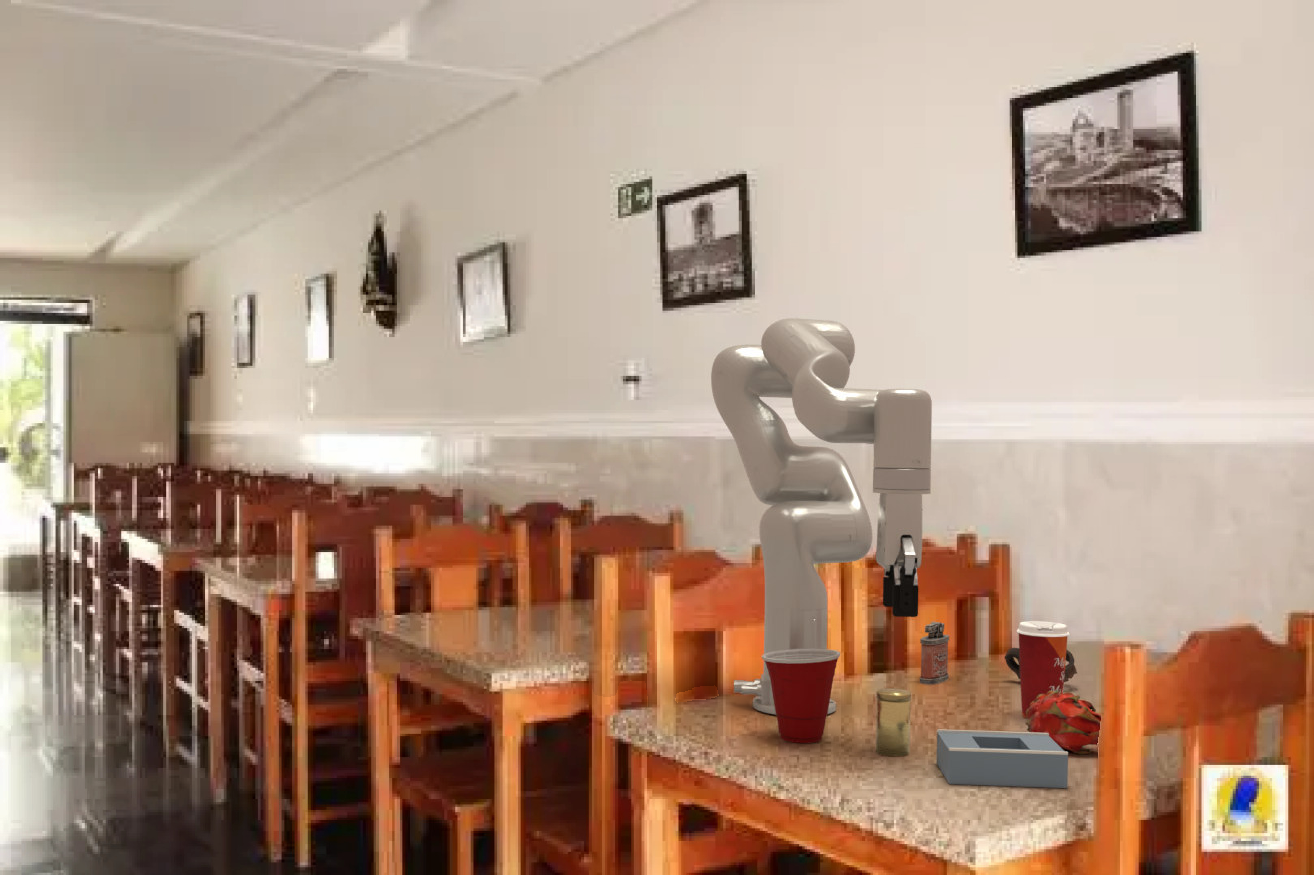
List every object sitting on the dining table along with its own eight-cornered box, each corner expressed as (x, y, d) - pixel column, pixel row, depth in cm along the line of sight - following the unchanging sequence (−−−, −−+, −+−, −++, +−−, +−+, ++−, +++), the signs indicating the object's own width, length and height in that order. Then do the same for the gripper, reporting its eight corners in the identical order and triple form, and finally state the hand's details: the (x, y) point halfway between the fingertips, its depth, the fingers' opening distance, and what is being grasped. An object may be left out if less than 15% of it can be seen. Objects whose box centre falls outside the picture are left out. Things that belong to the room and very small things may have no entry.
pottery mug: (1075, 685, 221) (1085, 648, 217) (1062, 718, 214) (1072, 681, 209) (1006, 661, 226) (1014, 625, 221) (991, 693, 218) (999, 656, 214)
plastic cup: (775, 726, 183) (777, 642, 183) (848, 734, 179) (850, 648, 179) (748, 742, 174) (750, 653, 174) (825, 751, 169) (826, 660, 169)
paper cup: (1071, 724, 188) (1072, 628, 188) (1016, 720, 190) (1018, 626, 190) (1065, 713, 196) (1066, 621, 196) (1013, 710, 197) (1014, 619, 197)
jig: (948, 783, 154) (949, 748, 154) (936, 762, 164) (937, 729, 164) (1067, 788, 153) (1068, 752, 153) (1047, 766, 163) (1048, 733, 163)
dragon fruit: (1020, 751, 178) (1106, 779, 170) (1006, 724, 172) (1094, 752, 164) (1042, 698, 181) (1127, 723, 174) (1029, 670, 175) (1116, 695, 168)
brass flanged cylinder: (877, 755, 167) (878, 694, 167) (873, 747, 172) (874, 687, 172) (911, 757, 167) (913, 695, 167) (907, 748, 172) (908, 688, 171)
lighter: (934, 676, 225) (935, 619, 225) (952, 678, 223) (953, 620, 223) (915, 682, 218) (916, 624, 218) (933, 685, 216) (934, 626, 216)
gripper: (865, 479, 179) (864, 602, 178) (881, 483, 161) (879, 619, 161) (920, 480, 178) (918, 604, 178) (941, 484, 161) (939, 621, 161)
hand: (899, 611), depth 170 cm, fingers open, 9 cm apart
